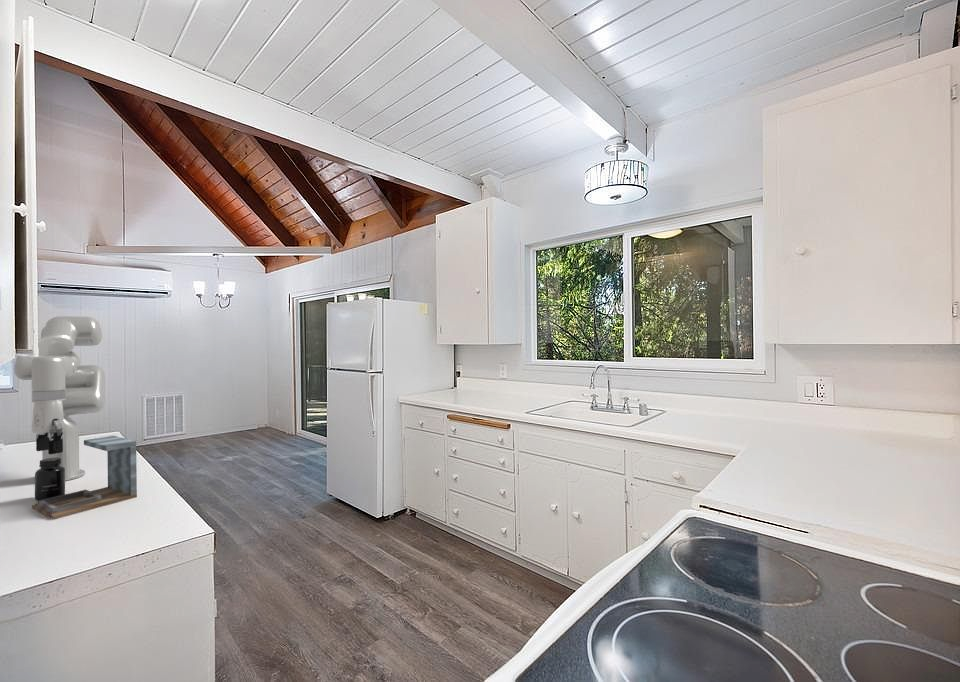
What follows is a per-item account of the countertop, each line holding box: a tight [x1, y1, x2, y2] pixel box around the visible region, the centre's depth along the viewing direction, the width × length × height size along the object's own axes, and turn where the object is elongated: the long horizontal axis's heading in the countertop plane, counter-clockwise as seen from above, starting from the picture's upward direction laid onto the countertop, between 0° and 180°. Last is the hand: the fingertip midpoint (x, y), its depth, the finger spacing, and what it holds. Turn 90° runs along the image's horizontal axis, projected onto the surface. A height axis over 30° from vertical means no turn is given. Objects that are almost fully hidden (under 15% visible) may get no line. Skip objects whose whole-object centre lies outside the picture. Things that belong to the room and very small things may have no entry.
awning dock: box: [31, 435, 138, 520], centre depth 133 cm, size 16×20×18 cm
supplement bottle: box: [34, 458, 66, 502], centre depth 138 cm, size 7×7×12 cm
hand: (49, 451), depth 137 cm, fingers open, 9 cm apart
